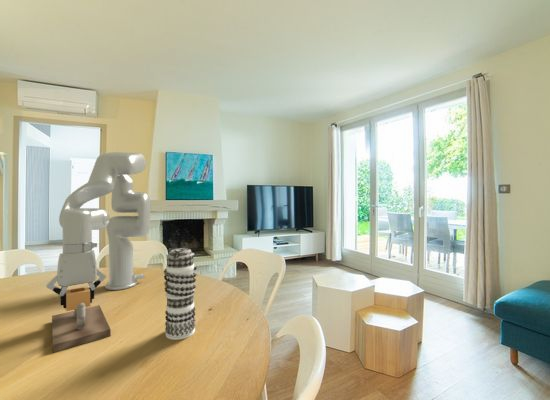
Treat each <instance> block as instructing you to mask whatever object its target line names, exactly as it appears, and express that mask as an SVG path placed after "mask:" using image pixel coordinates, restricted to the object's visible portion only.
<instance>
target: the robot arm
mask: <svg viewBox="0 0 550 400" xmlns="http://www.w3.org/2000/svg"><path fill="white" fill-rule="evenodd" d="M146 165H147V163H146V158H145V156H144V155H143V154H142V153H140V152H122V151H121V152H119V151H118V152H116V151H115V152H114V151H112V152H111V151H110V152H107V153H102V154H99V155H98V157H96V160H95V162H94V165H93V168H92V170H91V173H90V175H89V178H88V181H87V182H86V183H85V184H83V185H81V186H80V187H78V188H77V189H75V190H74V191H73V192H72V193H71V194H69V195H68V197H66V199H65V201H64V202H63V206H62V207H61V210H60V213H59V216H58V217H59V218H58V221H59V225H60V227H61V228H62V253H60V254H59V256H58V261H57V271H56V275H55V276H54V277H53V278H52V279H51V280H50V281H49V282H47V284H46V286H45V287H46V288H47V289H48V290H51V291H53V292H54V293H55V294H57V295H59V296H60V306H63V307H62V308H63V309H66V293H65V292H66V290H67V289H68V287H71V286H77V285H84V284H87V285H88V287H89V289H90V304H92V303H93V300H94V299H95V290H96V288H97V287H98V286H99V285H100V284H101V283H102V282H103V281H104V280H105V279H106V278H107V276H106V274H104V273H102V272H101V271H100V270H99V269H97V259H96V253H95V250H93V249H95V248H98V242H93V241H92V238H93V237H92V236H93V235H92V234H93V233H92V232H93V231H99V230H102V229H106V233H107V238H108V239H107V240H108V279H109V280H108V282H107V283H106V284H105V285H104V288H105V289H106V290H108V291H109V290H110V291H117V290H118V291H120V290H126V289H130V288H132V287H134V286H136V285H137V284H138V280H139V279H140V280H141V279H145V277H146V275H145V273H136V274H135V273H134V246H133V242H131V240H130V239H129V238H137V237H139V238H141V237H146V236H147V235H148V234H149V233H150V228H151V227H150V226H151V198H150V196H149V194H148V193H146V192H137V191H134V181H133V179H132V177H131V176H132V175H137V174H139V173H142V172H143V171H145V169H146ZM110 193H111V198H110V199H111V202H110V203H111V204H110V205H111V210H112V211H113V212H114V213H118V214H120V213H121V214H137V215H116V216H112V217H110V215H109V212H108V211H107V210H105V209H103V208H94V207H93V208H89V207H88V208H87V207H86V208H85V207H82V206H84V205H85V204H86V203H88V202H90V201H92V200H95V199H99V198H101V197H104V196H107V195H109V194H110ZM81 207H82V208H81ZM97 276H98V277H97ZM56 283H57V285H58V286H59V287H58V286H57V285H55V284H56ZM60 287H61V288H60Z"/></svg>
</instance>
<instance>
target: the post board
mask: <svg viewBox="0 0 550 400" xmlns="http://www.w3.org/2000/svg"><path fill="white" fill-rule="evenodd" d="M51 334H52V353H56V352H60V351H63V350H67V349H70V348H74V347H77V346H79V345H80V346H81V345H84V344H88V343H91V342H95V341H97V340H101V339H104V338H108V337H111V336H112V335H111V334H112V333H111V327H110V325H109V323H108V321H107V319H106V316H105V314H104V311H103V310H102V307H101V305H94V306H89V307H85V304H84V303H79V304H78V305H77V309H75V310H70V311H66V312H63V313H58V314H54V315H51Z"/></svg>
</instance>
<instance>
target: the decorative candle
mask: <svg viewBox="0 0 550 400" xmlns="http://www.w3.org/2000/svg"><path fill="white" fill-rule="evenodd" d="M194 256H195V253H194V252H193V251H192V249H190V248H188V247H180V248H173V249H171V250H170V251H169V253H168V254H166V255H165V257H166V265H165V266H166V267H165V269H164V270H163V274H164V276H163V278H164V281H165V282H164V292H165V295H164V296H165V298H166V305H165V306H166V307H165V308H166V310H165V312H164V313H165V323H164V326H165V329H164V330H165V337H166V338H167V339H169V340H172V341H173V340H175V341H177V340H184V339H187V338H189V337H191V336H193V334H194V333H195V331H196V328H195V327H196V312H195V311H196V308H195V301H194V298H195V297H194V295H195V293H196V290H195V289H196V287H197V285H196V284H194V283H195V282H196V281H197V279H196V278H195V277H196V276H197V273H195V271H196V270H197V266H195V263H194Z"/></svg>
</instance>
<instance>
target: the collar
mask: <svg viewBox="0 0 550 400" xmlns="http://www.w3.org/2000/svg"><path fill="white" fill-rule="evenodd" d="M89 287H90V286H89V285H85V286H81V287H75V288H69V289H68V288H67V290H66V292H65V293H66V308H65V311H66V312H71V311H74V310H75V309H77V305H78V304H79V303H84V304H85V308H90V307H91V303H90V289H89Z"/></svg>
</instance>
